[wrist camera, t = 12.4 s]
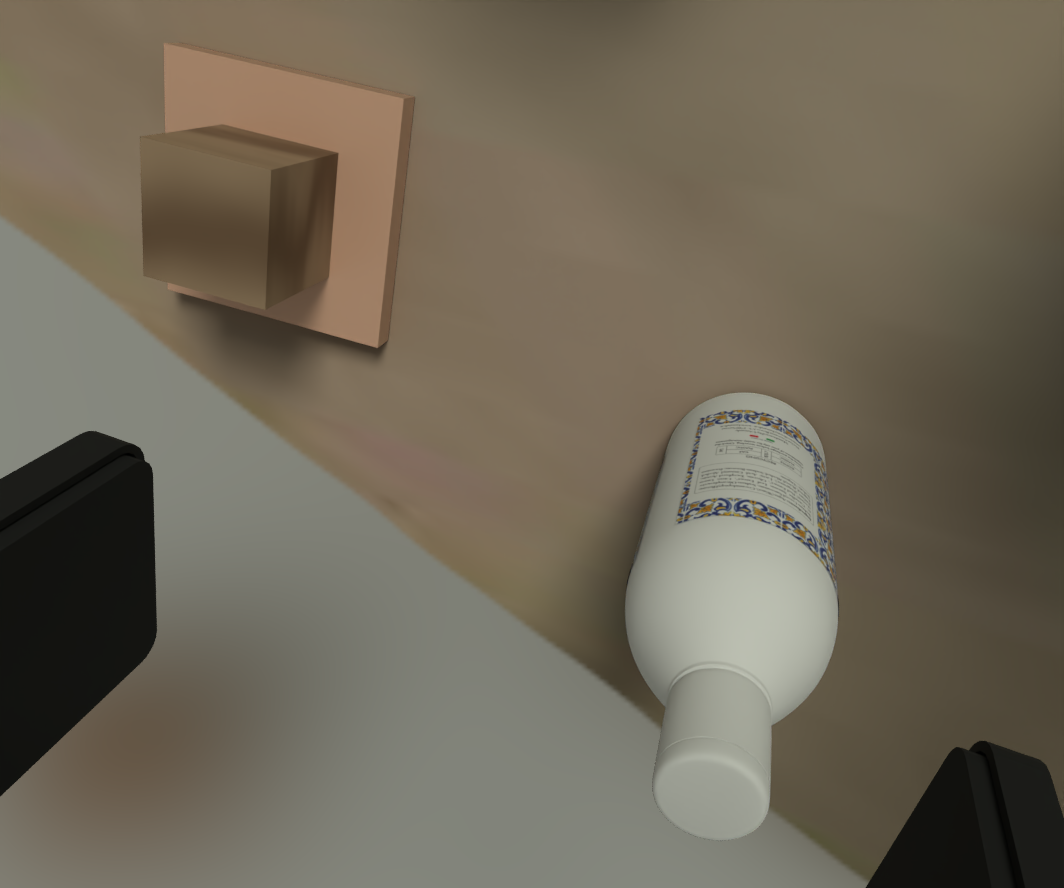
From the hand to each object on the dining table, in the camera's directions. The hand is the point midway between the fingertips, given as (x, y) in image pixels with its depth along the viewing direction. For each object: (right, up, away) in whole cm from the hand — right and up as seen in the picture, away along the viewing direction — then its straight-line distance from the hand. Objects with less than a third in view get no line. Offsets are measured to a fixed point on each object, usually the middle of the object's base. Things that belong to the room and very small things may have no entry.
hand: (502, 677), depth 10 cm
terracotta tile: (-11, +14, +30) cm, 35 cm away
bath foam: (+10, +2, +29) cm, 31 cm away
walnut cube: (-11, +13, +29) cm, 34 cm away
